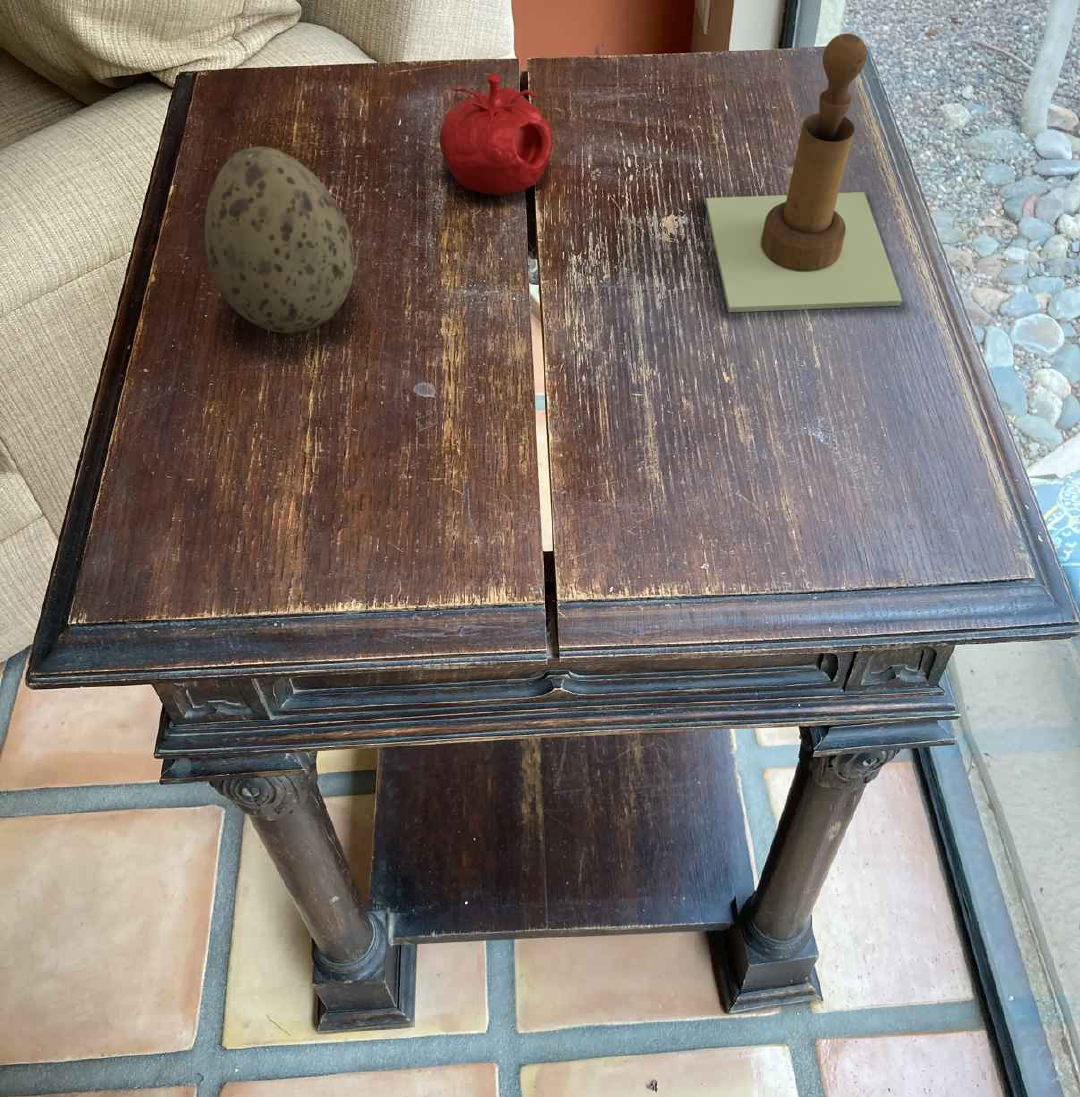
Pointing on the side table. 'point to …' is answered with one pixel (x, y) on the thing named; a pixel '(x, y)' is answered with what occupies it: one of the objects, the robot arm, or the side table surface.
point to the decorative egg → (277, 242)
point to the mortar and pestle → (818, 170)
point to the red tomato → (496, 140)
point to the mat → (775, 287)
